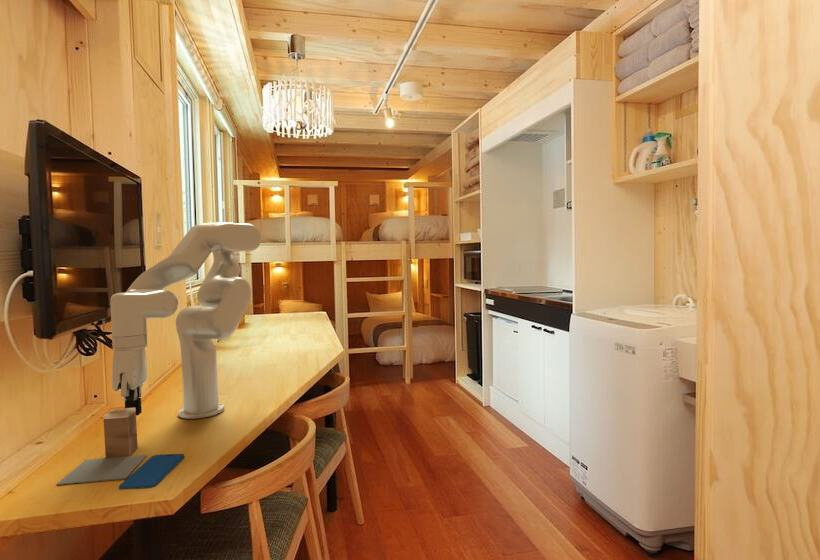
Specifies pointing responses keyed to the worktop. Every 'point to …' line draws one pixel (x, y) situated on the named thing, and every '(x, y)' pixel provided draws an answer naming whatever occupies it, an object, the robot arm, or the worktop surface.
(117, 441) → the walnut block
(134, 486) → the smartphone
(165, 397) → the worktop surface
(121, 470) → the mat
